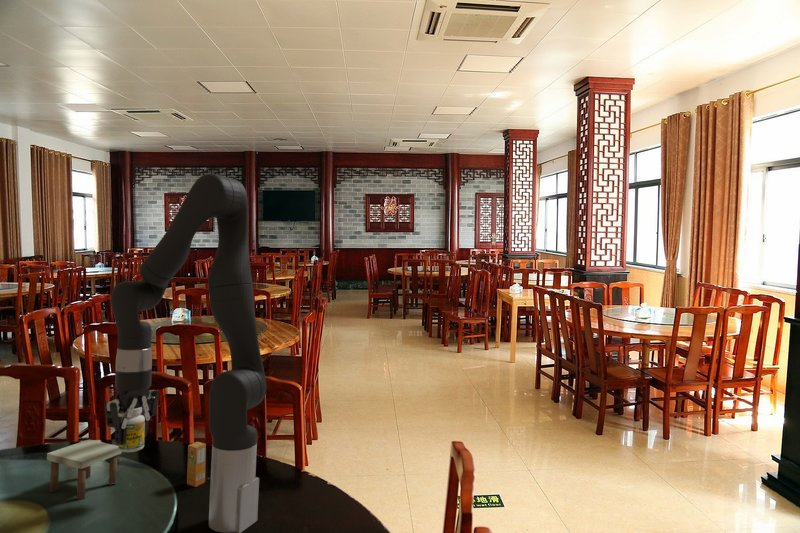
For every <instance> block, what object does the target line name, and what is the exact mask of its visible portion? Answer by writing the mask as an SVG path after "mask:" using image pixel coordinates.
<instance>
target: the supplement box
mask: <svg viewBox="0 0 800 533" xmlns="http://www.w3.org/2000/svg"><path fill="white" fill-rule="evenodd" d="M206 447H207V445H206V443H203V442H200V441H196V442H192V443H191V444H188V447H187V468H186V469H187V472H186V485H188V486H190V487H191V486H192V487H194V488H197V487H199V486H200V485H203V484H205V482H206V455H207V454H206V453H207V452H206V451H207V448H206Z"/></svg>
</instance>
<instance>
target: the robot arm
mask: <svg viewBox="0 0 800 533" xmlns="http://www.w3.org/2000/svg"><path fill="white" fill-rule="evenodd" d="M210 218H215V219H216V224H217V233H218V243H217V248H216V252H215V256H214V258H213V261H212V263H211V267H210V269H209V272H208V279H207V282H208V283H207V287H208V296H209V297H208V298H209V306H210V310H211V313H212V315H213V318H214V320H215V322H216V324H217V326H218V327H219V330H221V333H223V335H224V338H225V339H226V341H227V344H228V347H229V353H230V364H231V369H229V370H226V371H223V372H221V373H219V374H217V375H216V376H215V377H214V378H213V379H212V382H211V384H210V388H209V394H208V396H209V397H208V428H209V432H210V434H211V438H212V444H211V446H212V447H211V448H212V449H211V462H210V465H211V466H210V467H211V468H210V483H209V484H210V485H209V486H210V487H209V506H208V508H209V511H208V528H209V529H211V530H213V531H214V532H218V533H243V532H244V531H245V530H247V529H248V528H249V527H251V526H252V525H253V524H255V523H256V522H257V521H258V511H259V492H260V491H259V488H260V478H259V477H257V476H256V471H257V470H256V469H257V454H258V453H257V452H258V450H257V446H258V431H257V429H256V427H254V426H252V425H249V424H248V410H250V409H253V408H254V407H256V406H258V405H260V404H261V403H262V402H263V400H264V399H265V396H266V394H267V393H266V392H267V379H266V374H265V368H264V364H263V359H262V358H263V357H262V354H261V351H260V350H261V348H260V343H259V337H258V327H257V318H256V311H255V299H254V298H255V296H254V287H253V277H252V270H251V262H250V260H251V259H250V249H249V232H248V231H249V228H248V227H249V200H248V194H247V191H246V187H245V186H244V184H242V182H240V181H239V180H237V179H235V178H232V177H228V176H223V175H220V174H215V173H206V174H203V175H201V176H200V177H198V179H196V180H195V182H194V183H193V185H192V186H191V188H190V189H189V191H188V193H187V194H186V196H185V198H184V200H183V202H182V204H181V205H180V207H179V209H178V210H177V212H176V214H175V216H174V218H173V219H172V221H171V223H170V225H169V226H168V229H167V230H166V232H165V233H164V235H163V236H162V238H160V241H159V242H158V243H157V244H156V245H155V247H154V248H153V249H152V250H151V252H150V253H149V254H148V255H147V256H146V258H145V259H144V261H142V263H141V264H140V266H139V275H140V276H141V277H142V279H141V280H131V281H129V280H127V281H126V280H125V281H121V282H118V283H116V285H115V286H114V287H113V289H112V291H111V294H110V305H111V306H110V307H111V310H112V315H113V317H114V322H115V325H116V328H117V348H116V356H115V372H114V374H115V376H114V378H115V379H114V388H115V389H116V395H115V399H113V400H111V401H107V400H106V401H104V403H103V408H104V415H105V422H106V426H107V427H108V428H112V429H114V442H115V443H116V444H115V445H117V446H119V445H124V444H126V428H125V427H126V425H127V422H128V419H129V418H131V415H132V412H133V409H135V408H138V407H142V413H141V415H143V416H144V417H145V436H144V438H145V437H147V434H148V432H149V421H150V419H151V418H152V417H154V416H156V414H157V411H158V410H157V409H158V405H159V404H158V403H159V398H160V391H159V390H156V389H150V387H152V375H153V374H152V372H153V371H152V370H153V368H152V367H153V353H152V352H153V351H152V326H151V324H150V323H149V322H146V321H142V320H141V319H140V316H139V312H143V311H144V312H145V311H149V310H153V308H155V307H156V306H158V305H159V303H160V302H161V300H162V299H163V297H164V294H165V292H166V290H167V288H168V285H169V282H170V281H171V280H172V279H173V278H174V277H175V275H176V274H177V273H178V272H179V270H181V268H182V267H183V265H184V264H185V263H186V261H187V259H188V257H189V254H190V251H191V248H192V243H193V239H194V237H195V236H196V235H195V234H197V232H198V230H199V229H200V228H201V227H202V226H203V225H204V224H205V223H206V222H207V221H208V220H210ZM122 411H123V412H126V414H123V413H122ZM122 418H123V419H122ZM121 419H122V422H121ZM120 422H121V423H120Z"/></svg>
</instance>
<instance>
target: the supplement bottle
mask: <svg viewBox="0 0 800 533" xmlns="http://www.w3.org/2000/svg"><path fill="white" fill-rule="evenodd" d="M122 413H123V414H126V412H123V411H122ZM141 413H142V407H138V408H135V409H133V412H132V415H131V418H129V419H128V422H127V425H126V427H125V428H126V444H124V445H118V446H119V450H120V451H121V452H122V453H134V452H138V451H141V450H143V449H144V447H145V437H144V436H145V417H144V416H143V415H141ZM122 419H123V418H122ZM122 419H121V422H122ZM121 422H120V423H121Z"/></svg>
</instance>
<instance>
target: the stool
mask: <svg viewBox="0 0 800 533" xmlns="http://www.w3.org/2000/svg"><path fill="white" fill-rule="evenodd" d="M122 453H123V452H121V451H120V450H119V445H117V444H111V443H108V442H107V443H106V442H102V441H98V440H97V441H96V440H93V439H86V440H83V441H80V442H78V443H75V444H70V445H68V446H65V447H62V448H58V449H56V450H53V451H51V452H47V453H46V461H49V462H50V480H49V492H50V493H56V492H58V491H59V477H60V475H59V473H60V472H59V471H60V464H61V465H64V466H69V467H72V468H76V469H77V481H76V482H77V484H76V485H77V487H76V500H77V501H78V500H79V501H80V500H84V499H85V497H86V482H87V481H86V480H87V479H89V478H88V477H90V478H91V468H92V465H95V464H97V463H101V462H103V461H106V460H108V459H109V468H108V469H109V470H108V471H109V472H108V473H109V474H108V485H109V484H112V483H115V482H116V483H117V472H118V456H119V455H121V454H122ZM86 478H87V479H86Z"/></svg>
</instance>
